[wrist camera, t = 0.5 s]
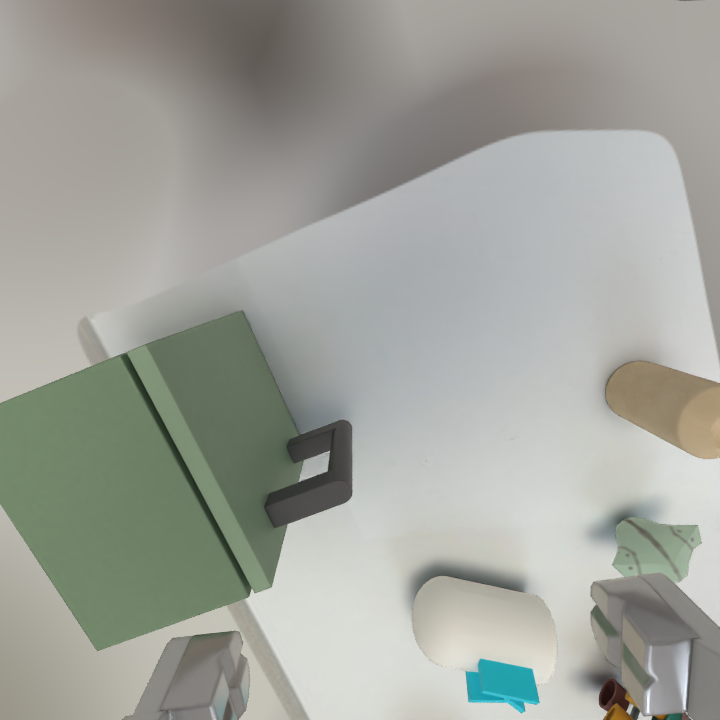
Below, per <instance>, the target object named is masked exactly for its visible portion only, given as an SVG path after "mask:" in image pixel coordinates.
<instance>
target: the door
mask: <svg viewBox="0 0 720 720" xmlns="http://www.w3.org/2000/svg"><path fill="white" fill-rule="evenodd" d="M127 354H128V356H129V358H130V360H131V362H132V364H133V366H134V367H135V369H136V371H137V373H138V375H139V377H140V379H141V381H142V382H143V384H144V386H145V388H146V390H147V392H148V394H149V396H150V397H151V399H152V401H153V403H154V405H155V407H156V409H157V411H158V412H159V414H160V416H161V418H162V420H163V422H164V424H165V426H166V428H167V429H168V431H169V433H170V435H171V437H172V439H173V441H174V443H175V444H176V446H177V448H178V450H179V452H180V454H181V456H182V458H183V459H184V461H185V463H186V465H187V467H188V469H189V471H190V473H191V475H192V476H193V478H194V480H195V482H196V484H197V486H198V488H199V490H200V491H201V493H202V495H203V497H204V499H205V501H206V503H207V505H208V506H209V508H210V510H211V512H212V514H213V516H214V518H215V520H216V522H217V523H218V525H219V527H220V529H221V531H222V533H223V535H224V537H225V538H226V540H227V542H228V544H229V546H230V548H231V550H232V552H233V553H234V555H235V557H236V559H237V561H238V563H239V565H240V567H241V568H242V570H243V572H244V574H245V576H246V578H247V580H248V582H249V584H250V585H251V587H252V589H253V591H254V593H257V592H260V591H263V590H266V589H268V588H271V587H272V583H273V580H274V576H275V572H276V568H277V564H278V560H279V556H280V552H281V548H282V544H283V540H284V536H285V532H286V528H287V525H288V524H289V523H291V522H294V521H297V520H300V519H302V518H305V517H308V516H310V515H313V514H316V513H319V512H321V511H324V510H327V509H330V508H332V507H335V506H338V505H341V504H343V503H345V502H347V501H348V500H349V499H350V498H351V496H352V425H351V424H350V423H349V422H348V421H346V420H339V421H336V422H333V423H331V424H328V425H326V426H323V427H320V428H318V429H315V430H312V431H310V432H307V433H304V434H302V435H299V433H298V431H297V429H296V427H295V424H294V422H293V420H292V418H291V416H290V413H289V411H288V409H287V407H286V405H285V402H284V400H283V398H282V396H281V394H280V392H279V389H278V387H277V385H276V383H275V381H274V378H273V376H272V374H271V372H270V370H269V367H268V365H267V363H266V361H265V359H264V356H263V354H262V352H261V350H260V348H259V346H258V343H257V341H256V339H255V337H254V335H253V332H252V330H251V328H250V326H249V324H248V321H247V319H246V317H245V315H244V313H243V311H239V312H236V313H233V314H230V315H228V316H225V317H222V318H219V319H216V320H213V321H211V322H208V323H205V324H202V325H199V326H196V327H194V328H191V329H188V330H185V331H182V332H180V333H177V334H174V335H171V336H168V337H165V338H163V339H160V340H157V341H154V342H151V343H148V344H146V345H143V346H141V347H138V348H136V349H133V350H131V351H128V352H127ZM329 450H330V457H329V465H328V472H325V473H322V474H320V475H317V476H314V477H312V478H309V479H306V480H304V481H301V482H298V481H299V477H300V473H301V469H302V466H303V462H304V460H305V459H308V458H311V457H313V456H316V455H319V454H321V453H324V452H327V451H329Z"/></svg>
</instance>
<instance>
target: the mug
mask: <svg viewBox="0 0 720 720" xmlns="http://www.w3.org/2000/svg"><path fill="white" fill-rule="evenodd" d="M412 628H413V633H414V636H415V640H416V642H417V644H418V646H419V648H420V650H421V651H422V652H423V654H424V655H425V656H426V657H427V658H428V659H429V660H430V661H432V662H433V663H435V664H437V665H439V666H442V667H446V668H451V669H457V670H462V671H466V680H467V691H468V701H469V702H490V703H509V704H510V705H511V706H513V707H514V708H515V709H517V710H518V711H519V712H520V713H523V712H524V711H525V707H524V702H526V703H530V704H535V705H536V704H538V703H540V702H539V697H538V693H537V688H536V685H544V684H546V683H547V682H548V681H549V680H550V679H551V678H552V675H553V672H554V670H555V667H556V660H557V653H558V650H557V634H556V629H555V624H554V621H553V618H552V615H551V613H550V610H549V608H548V607H547V605H546V604H545V602H544V601H543V600H542V599H541V598H540V597H538V596H537V595H532V594H527V593H523V592H518V591H513V590H509V589H504V588H499V587H494V586H490V585H485V584H480V583H476V582H471V581H466V580H461V579H457V578H452V577H449V576H438V577H434V578H432V579H430V580H429V581H427V582H426V583H425V584H424V585H423V586H422V587H421V588H420V590H419V592H418V593H417V595H416V597H415V600H414V604H413V608H412Z"/></svg>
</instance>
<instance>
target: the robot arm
mask: <svg viewBox="0 0 720 720" xmlns="http://www.w3.org/2000/svg"><path fill="white" fill-rule="evenodd" d="M591 597H592V599H593V600H594V602H595V603H596V606H595V607H594V608H593V610H592V611H591V626H592V630H593V633H594V637H595V640H596V642H597V644H598V646H599V648H600V650H601V652H602V653H603V655H604V656H605V658H606V659H607V661H608V662H609V663H611V664H612V665H614V666H615V667H617V668H618V669H620V670H621V671H622V679H621V683H622V684H623V686H624V687H625V689H626V690H627V692H628V693H629V695H630V696H631V698H632V699H633V701H634V702H635V704H636V705H637V707H638V708H639V710H640V711H641V713H642V714H643V716H644V717H645V716H655V715H665V714H675V713H685V712H688V716H690V717H691V718H692V719H693V720H720V627H719V626H718V625H717V624H716V623H714V622H713V621H712V620H711V619H710V618H709V617H708V616H707V615H706V614H705V613H704V612H703V611H702V610H701V609H700V608H699V607H698V606H697V605H696V604H695V603H694V602H693V601H692V600H691V599H690V598H689V597H688V596H687V595H686V594H685V593H684V592H683V591H682V590H681V589H680V588H679V587H678V586H677V585H675V584H674V583H673V582H672V581H671V580H670V579H669V578H668V577H667V576H666V575H664V574H662V573H660V572H657V573H650V574H644V575H637V576H629V577H623V578H616V579H609V580H602V581H596V582H593V583H592V585H591ZM242 645H243V641H242V638H241V634H240V632H239V631H229V632H220V633H210V634H201V635H194V636H187V637H178V638H172V639H171V640H170V642H168V643H167V645H166V647H165V649H164V651H163V653H162V655H161V657H160V659H159V661H158V664H157V665H156V668H155V670H154V672H153V674H152V676H151V678H150V680H149V682H148V684H147V686H146V688H145V691H144V693H143V695H142V697H141V699H140V701H139V703H138V705H137V707H136V709H135V712H134V713H133V715H130V716H125V717H124V718H123V719H122V720H239V718H240V717H241V716H242V714H243V713H244V712H245V711H246V707H247V702H248V698H249V687H250V673H249V672H250V671H249V665H248V660H247V658H246V657H244V656H243V655H242V654H241V649H242Z"/></svg>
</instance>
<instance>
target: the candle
mask: <svg viewBox="0 0 720 720" xmlns="http://www.w3.org/2000/svg"><path fill="white" fill-rule="evenodd" d="M606 399H607V403H608V405H609V407H610V408H611V409H612V410H613V411H614V412H615V413H616V414H618V415H619V416H621V417H623V418H624V419H626V420H628V421H630V422H632V423H634V424H635V425H637V426H639V427H641V428H643V429H645V430H647V431H648V432H650V433H652V434H654V435H656V436H658V437H660V438H661V439H663V440H665V441H667V442H669V443H671V444H673V445H674V446H676V447H678V448H680V449H682V450H684V451H686V452H687V453H689V454H691V455H693V456H695V457H698V458H703V459H715V458H720V383H717V382H714V381H711V380H707V379H704V378H701V377H697V376H694V375H691V374H688V373H684V372H681V371H678V370H674V369H671V368H668V367H664V366H661V365H658V364H654V363H651V362H646V361H634V362H630V363H627V364H625V365H623V366H621V367H620V368H619V369H617V370H616V371H615V372H614V373H613V375H612V376H611V378H610V379H609V381H608V384H607V387H606Z"/></svg>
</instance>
